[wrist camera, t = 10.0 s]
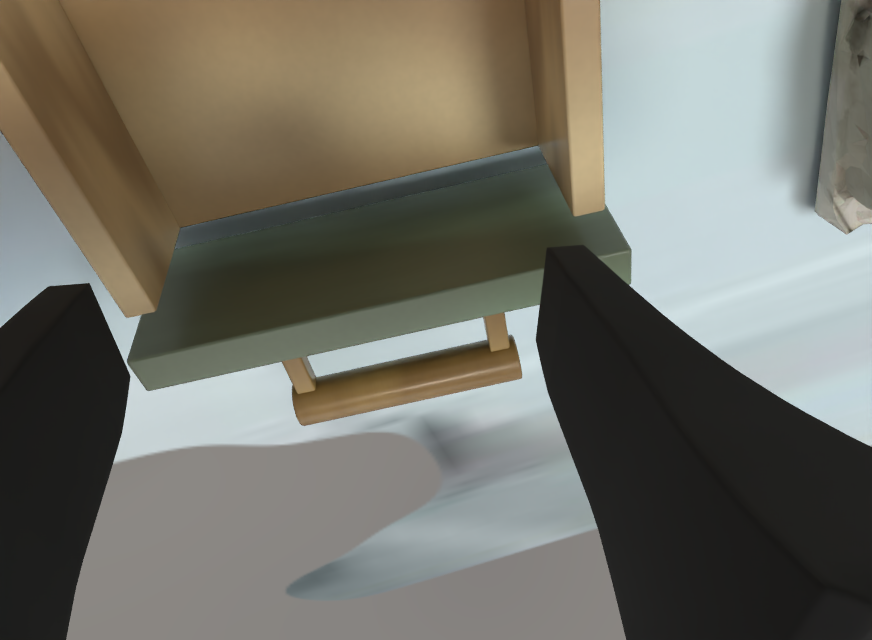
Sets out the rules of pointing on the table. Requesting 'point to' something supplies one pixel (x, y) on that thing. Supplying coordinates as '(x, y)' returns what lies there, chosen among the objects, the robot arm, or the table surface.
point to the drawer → (313, 174)
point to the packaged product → (848, 124)
